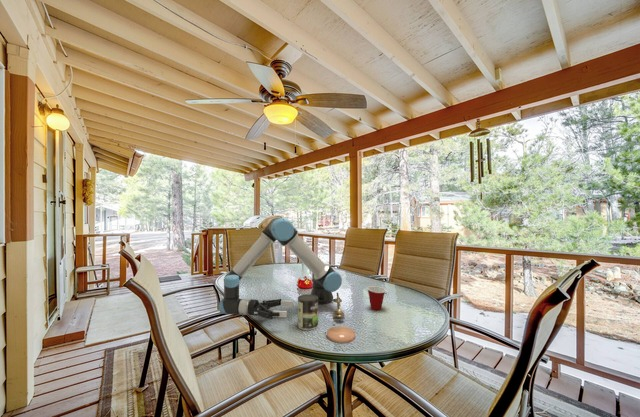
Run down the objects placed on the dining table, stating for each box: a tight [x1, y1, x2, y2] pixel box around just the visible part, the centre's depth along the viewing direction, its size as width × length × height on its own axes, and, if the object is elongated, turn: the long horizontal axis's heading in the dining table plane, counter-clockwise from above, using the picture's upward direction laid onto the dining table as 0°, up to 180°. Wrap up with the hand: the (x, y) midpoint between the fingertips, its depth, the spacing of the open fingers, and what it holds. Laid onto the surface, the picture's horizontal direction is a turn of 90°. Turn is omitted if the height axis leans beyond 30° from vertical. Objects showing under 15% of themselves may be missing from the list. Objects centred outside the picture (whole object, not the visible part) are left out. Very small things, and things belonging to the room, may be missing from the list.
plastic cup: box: [366, 285, 387, 312], centre depth 152 cm, size 11×11×12 cm
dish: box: [326, 325, 356, 344], centre depth 120 cm, size 13×13×2 cm
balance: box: [332, 292, 345, 320], centre depth 141 cm, size 17×6×11 cm, turn 1°
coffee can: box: [297, 293, 319, 331], centre depth 130 cm, size 10×10×14 cm
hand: (290, 308), depth 131 cm, fingers open, 13 cm apart
